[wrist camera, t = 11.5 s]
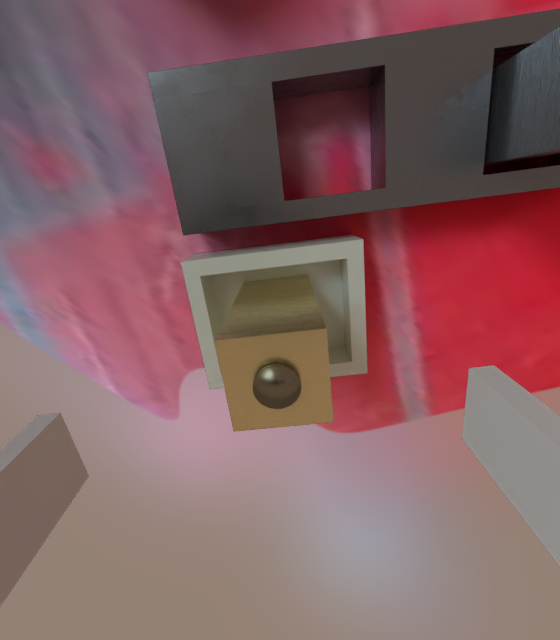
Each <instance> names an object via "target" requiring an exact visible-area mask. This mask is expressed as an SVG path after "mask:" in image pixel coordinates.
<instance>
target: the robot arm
mask: <svg viewBox="0 0 560 640" xmlns="http://www.w3.org/2000/svg"><path fill="white" fill-rule="evenodd" d="M462 439H463V441H464V442H465V443H466V445H467V446H468V447H469V449H470V450H471V451H472V453H473V454H474V455H475V456H476V458H477V459H478V460H479V462H480V463H481V464H482V465H483V467H484V468H485V470H486V471H487V472H488V473H489V475H490V476H491V477H492V479H493V480H494V481H495V483H496V484H497V485H498V487H499V488H500V489H501V490H502V492H503V493H504V494H505V496H506V497H507V498H508V499H509V501H510V502H511V503H512V505H513V506H514V507H515V509H516V510H517V511H518V513H519V514H520V515H521V516H522V518H523V519H524V520H525V522H526V523H527V524H528V526H529V527H530V528H531V529H532V531H533V532H534V534H535V535H536V536H537V537H538V539H539V540H540V541H541V543H542V544H543V545H544V547H545V548H546V549H547V550H548V552H549V553H550V554H551V556H552V557H553V558H554V560H555V561H556V562H557V564H558V565H559V566H560V416H559V415H558V414H556V413H555V412H554V411H553V410H551V409H550V408H549V407H547V406H546V405H545V404H544V403H542V402H541V401H539V400H538V399H537V398H536V397H534V396H533V395H532V394H531V393H529V392H528V391H527V390H525V389H524V388H523V387H522V386H520V385H519V384H518V383H516V382H515V381H514V380H512V379H511V378H510V377H509V376H507V375H506V374H505V373H503V372H502V371H501V370H500V369H498V368H497V367H496V366H484V367H475V368H469V374H468V384H467V393H466V402H465V412H464V421H463V431H462ZM88 477H89V475H88V473H87V471H86V468H85V466H84V464H83V462H82V460H81V457H80V455H79V453H78V451H77V449H76V446H75V444H74V442H73V440H72V438H71V435H70V433H69V431H68V429H67V426H66V424H65V422H64V420H63V418H62V415H61V413H53V414H44V415H37V417H35V418H34V419H33V420H32V421H31V422H30V423H28V424H27V425H26V426H25V427H24V428H23V429H22V430H21V431H20V432H19V433H18V434H16V435H15V436H14V437H13V438H12V439H11V440H10V441H9V442H8V443H6V444H5V445H4V446H3V447H2V448H1V449H0V607H1V605H2V604H3V602H4V600H5V599H6V598H7V596H8V595H9V593H10V592H11V590H12V589H13V588H14V586H15V585H16V583H17V582H18V580H19V579H20V577H21V576H22V574H23V573H24V571H25V570H26V568H27V567H28V565H29V564H30V562H31V561H32V559H33V558H34V556H35V555H36V554H37V552H38V550H39V549H40V548H41V546H42V545H43V543H44V542H45V540H46V539H47V537H48V536H49V534H50V533H51V531H52V530H53V528H54V527H55V525H56V524H57V522H58V521H59V520H60V518H61V517H62V515H63V514H64V512H65V511H66V509H67V508H68V506H69V505H70V503H71V502H72V500H73V499H74V497H75V496H76V494H77V493H78V491H79V490H80V489H81V487H82V486H83V484H84V483H85V481H86V480H87V478H88Z"/></svg>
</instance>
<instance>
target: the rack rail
mask: <svg viewBox="0 0 560 640" xmlns="http://www.w3.org/2000/svg"><path fill="white" fill-rule="evenodd" d="M558 27H560V9H556V10H550V11H543V12H537V13H530V14H524V15H517V16H511V17H504V18H498V19H492V20H485V21H479V22H472V23H466V24H459V25H453V26H446V27H440V28H433V29H427V30H421V31H414V32H408V33H401V34H395V35H388V36H382V37H375V38H369V39H362V40H356V41H350V42H343V43H337V44H330V45H324V46H317V47H311V48H304V49H298V50H292V51H285V52H279V53H272V54H266V55H259V56H253V57H246V58H240V59H233V60H227V61H221V62H214V63H208V64H201V65H195V66H188V67H182V68H175V69H169V70H163V71H156V72H150V73H148V78H149V82H150V87H151V91H152V96H153V100H154V105H155V109H156V114H157V118H158V123H159V127H160V132H161V136H162V141H163V145H164V150H165V154H166V159H167V164H168V168H169V173H170V177H171V182H172V186H173V191H174V195H175V200H176V204H177V209H178V213H179V218H180V222H181V227H182V231H183V235H190V234H198V233H205V232H213V231H221V230H229V229H237V228H245V227H253V226H260V225H268V224H276V223H284V222H292V221H300V220H308V219H315V218H323V217H331V216H339V215H347V214H355V213H363V212H370V211H378V210H386V209H394V208H402V207H410V206H418V205H425V204H433V203H441V202H449V201H457V200H465V199H473V198H480V197H488V196H496V195H504V194H512V193H520V192H528V191H535V190H543V189H551V188H559V187H560V154H558V155H552V156H549V161H548V167H542V168H534V169H526V170H519V171H511V172H504V173H496V174H488V175H483V170H484V159H485V148H486V137H487V126H488V115H489V104H490V93H491V81H492V70H493V67H497V66H499V65H501V64H502V63H504V62H505V61H507V60H508V59H510V58H512V57H513V56H515V55H516V54H518V53H519V52H521V51H522V50H524V49H526V48H527V47H529V46H530V45H532V44H533V43H535V42H537V41H538V40H540V39H541V38H543V37H544V36H546V35H548V34H549V33H551V32H552V31H554V30H555V29H557V28H558ZM364 86H370V131H371V179H372V190H366V191H358V192H351V193H343V194H335V195H328V196H320V197H312V198H305V199H297V200H289V201H284V192H283V183H282V174H281V164H280V155H279V146H278V137H277V128H276V119H275V110H274V101H273V100H276V99H283V98H290V97H297V96H303V95H310V94H317V93H324V92H330V91H337V90H344V89H351V88H358V87H364Z"/></svg>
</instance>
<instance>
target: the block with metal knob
mask: <svg viewBox="0 0 560 640" xmlns="http://www.w3.org/2000/svg"><path fill="white" fill-rule="evenodd" d="M215 345H216V350H217V355H218V360H219V364H220V369H221V374H222V378H223V383H224V388H225V392H226V397H227V402H228V407H229V412H230V416H231V421H232V425H233V431H244V430H255V429H265V428H276V427H286V426H297V425H308V424H319V423H329V422H334V418H333V405H332V392H331V379H330V366H329V353H328V340H327V328H326V325H325V322H324V319H323V317H322V314H321V311H320V308H319V305H318V302H317V299H316V296H315V293H314V291H313V288H312V285H311V282H310V279H309V276H308V275H301V276H292V277H284V278H275V279H267V280H258V281H250V282H244V283H243V285H242V287H241V289H240V291H239V293H238V295H237V297H236V299H235V301H234V303H233V305H232V307H231V309H230V311H229V313H228V315H227V317H226V319H225V321H224V323H223V325H222V327H221V329H220V331H219V333H218V335H217V337H216V339H215Z"/></svg>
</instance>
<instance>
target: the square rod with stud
mask: <svg viewBox="0 0 560 640" xmlns="http://www.w3.org/2000/svg"><path fill="white" fill-rule="evenodd" d="M558 154H560V27H558V28H557V29H555V30H554V31H552V32H551V33H549V34H548V35H546V36H544V37H543V38H541V39H540V40H538V41H537V42H535V43H533V44H532V45H530V46H529V47H527V48H526V49H524V50H522V51H521V52H519V53H518V54H516V55H515V56H513V57H512V58H510V59H508V60H507V61H505V62H504V63H502V64H501V65H499V66H497V67H496V68H494V69H493V70H492V81H491V93H490V104H489V115H488V126H487V137H486V148H485V159H484V165H489V164H496V163H504V162H511V161H519V160H526V159H534V158H541V157H546V156H552V155H558Z"/></svg>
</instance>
